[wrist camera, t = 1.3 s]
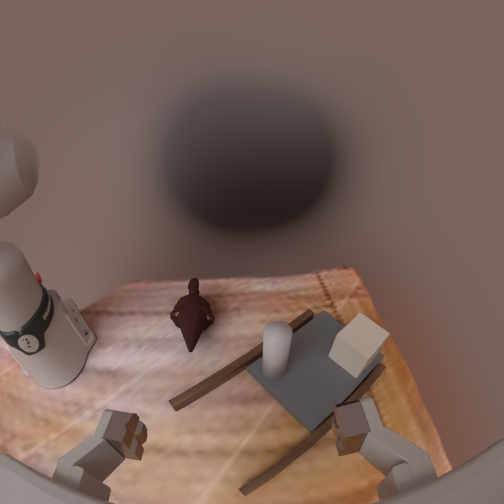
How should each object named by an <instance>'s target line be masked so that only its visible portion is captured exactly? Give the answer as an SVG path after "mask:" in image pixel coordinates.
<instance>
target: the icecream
mask: <svg viewBox="0 0 504 504" xmlns="http://www.w3.org/2000/svg"><path fill="white" fill-rule="evenodd" d="M198 288H199V281H198V279H197V278H193V279H191V280H190V282H189V284H188V289H189V294H188V295H186V296H184V297H181V298H180V299H179V300H178V302H177V304H176V305H175V307H174V310H173V311H172V312H171V313H170V315H171V317H170V318H171V319H172V320H173V322H174V323H175V325H176V326H177V327H178V328H180V329H181V331H182V334H183V337H184V339H185V342H186V345H187V348H188V350H189V352H192V351H193V350H194V348H195V346H196V344H197V341H198V339H199V337H200V335H201V333H202V331H203V330H205V329H207V328H208V327H209V326H210V325H211V324H212V323H213V322H214V321H213V320H214V319H215V318H214V316H213V315H212V312H211V309H210V304H209V303H208V302H207V301H206V300H205V299H204V298H202V297H201V296H200V295H198V294H199V290H198Z"/></svg>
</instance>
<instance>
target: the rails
mask: <svg viewBox="0 0 504 504" xmlns="http://www.w3.org/2000/svg"><path fill="white" fill-rule="evenodd" d="M313 315H314V312H313V311H311V310H310V309H308V310H307V311H306V312H304V313H303V314H302V315H300V316H299V317H298V318H296V319H295V320H293V321H292V322H291V323H289V324H288V325H289V326H290V327H291V328H292V332H293V333H292V334H294V333H295V332H296V331H298V330H299V329H300V328H301V327H303V326H304V325H305V324H307V323H308V322H309V321H310V320H312V319H313ZM262 356H263V342H262V343H261V344H259V345H258V346H257V347H255V348H254V349H252V350H251V351H249V352H248V353H246V354H245V355H243V356H242V357H240V358H238V359H237V360H235V361H234V362H232V363H231V364H229V365H228V366H226V367H224V368H223V369H221V370H220V371H218V372H217V373H215V374H213V375H212V376H210V377H208V378H207V379H205V380H203V381H202V382H200V383H198V384H197V385H195V386H193V387H192V388H190V389H188V390H187V391H185V392H183V393H181V394H180V395H178V396H176V397H174V398H173V399H171V400H169V403H170V404H171V406H172V407H173V408H174V410H175V411H178V410H180V409H182V408H183V407H185V406H187V405H189V404H190V403H192V402H194V401H195V400H197V399H199V398H200V397H202V396H204V395H205V394H207V393H209V392H210V391H212V390H213V389H215V388H217V387H218V386H220V385H221V384H223V383H225V382H226V381H228V380H229V379H231V378H232V377H234V376H235V375H237V374H238V373H240V372H241V371H243V370H244V369H246V368H247V366H249V365H250V364H252V363H253V362H255V361H256V360H258V359H259V358H261V357H262ZM385 368H386V367H385V366H384V365H382V364H381V363H380V364H379V365H378V366H377V368H376V369H375V370H374V371H373V372H372V374H371V375H370V376H369V377H368V378H367V379H366V380H365V382H364V383H363V384H362V385H361V386H360V387H359V388H358V389H357V390H356V392H355V393H354V394H353V395H352V396H351V397H350V398H349V399H348V400H347V401H346V402H350V401H354V400H359V399H360V398H361V396H362V395H363V394H364V393H365V392H366V391H367V390H368V389H369V387H370V386H371V385H372V384H373V383H374V381H375V380H376V379H377V378H378V377H379V375H380V374H381V373H382V372H383V370H384V369H385ZM331 428H332V416H331V417H330V418H329V419H328V420H327V421H326V422H325V423H324V424H323V425H322V426H320V427H319V428H318V429H317V430H316V431H315V432H314V433H313V434H312V435H310V436H309V437H308V438H307V439H306V440H305V441H303V442H302V443H301V444H300V445H299V446H298V447H296V448H295V449H294V450H293V451H291V452H290V453H289V454H288V455H286V456H285V457H284V458H283V459H281V460H280V461H279V462H277V463H276V464H275V465H273V466H272V467H271V468H269V469H268V470H267V471H265V472H264V473H262V474H261V475H259V476H258V477H257V478H255V479H254V480H252V481H251V482H249V483H248V484H246V485H245V486H243V487H242V488H240V489H239V490H240V491H241V492H242V493H243V494H244V495H245V496H246V495H247V494H249V493H251V492H252V491H254V490H255V489H257V488H258V487H260V486H261V485H262V484H264V483H265V482H267V481H268V480H269V479H271V478H272V477H274V476H275V475H276V474H278V473H279V472H280V471H282V470H283V469H284V468H286V467H287V466H288V465H289V464H291V463H292V462H293V461H294V460H296V459H297V458H298V457H299V456H300V455H302V454H303V453H304V452H305V451H306V450H308V449H309V448H310V447H311V446H312V445H313V444H314V443H315V442H317V441H318V440H319V439H320V438H321V437H322V436H323V435H324V434H325V433H326V432H327V431H328V430H330V429H331Z"/></svg>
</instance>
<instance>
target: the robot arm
mask: <svg viewBox="0 0 504 504" xmlns="http://www.w3.org/2000/svg"><path fill="white" fill-rule="evenodd" d="M39 169H40V166H39V156H38V152H37V149H36V146H35V144H34V142H33V141H32V139H31V138H30V137H29V136H28V134H26V133H25V132H24V131H22V130H21V129H19V128H15V127H12V126H8V125H5V124H3V123H1V122H0V219H2V218H3V217H5V216H7V215H9V214H10V213H11V212H12V211H14V210H15V209H16V208H17V207H18V206H20V205H21V204H22V203H24V202H25V201H26V200H27V199H28V198H30V197H31V196H32V195H33V193H34V191H35V188H36V185H37V182H38V177H39ZM41 283H42V280H41V277H40V275H39V273H36V274H35V275H34V274H33V272H32V270H31V268H30V266H29V264H28V262H27V260H26V258H25V256H24V254H23V252H22V251H21V250H20V249H19V248H18V247H17V246H15V245H14V244H12V243H10V242H5V241H0V336H1V337H2V339H3V340H4V341H6V343H7V349H8V350H9V352H10V353H11V354H12V356H13V357H14V358H15V359H16V361H17V362H18V363H19V364H20V366H21V372H22V373H23V374H24V376H26V377H29V378H33V379H34V380H35V381H36V382H37V383H38V384H40V385H41V386H43V387H45V388H51V389H54V388H59V387H62V386H65V385H67V384H68V383H70V382H71V381H72V380H73V379H74V378H75V377H76V376H77V375H78V374H79V372H80V371H81V369H82V368H83V366H84V363H85V360H86V357H87V354H88V351H89V350H90V348H91V347H92V346H93V344H94V342H95V340H96V337H95V335H94V334H93V332H92V331H91V329H90V328H89V326H88V325H87V323H86V321H85V320H84V318H83V317H82V315H81V313H80V312H79V310H78V308H77V307H76V305H75V303H74V302H73V300H72V299H71V298H60V296H59V295H58V293H57V292H56V291H55V290H46V288H45V287H43V285H42V284H41ZM333 411H334V414H333V415H332V430H333V434H334V435H335V436H336V437H337V440H336V447H337V451H338V455H339V456H343V455H347V454H352V453H356V452H359V454H361V455H362V456H363V457H364V458H365V459H366V460H367V461H369V462H370V463H371V464H372V465H373V466H374V467H375V468H377V469H378V470H379V471H380V472H381V473H383V474H384V475H385V476H386V477H385V478H384V479H383V480H382V481H381V482H380V483H379V485H378V486H377V487H376V488H377V492H378V496H379V500H380V501H379V502H375V503H372V504H504V439H500V440H498V441H497V442H496V443H494V444H493V445H491V446H490V447H488V448H487V449H485V450H484V451H482V452H481V453H479V454H478V455H476V456H475V457H473V458H472V459H470V460H468V461H467V462H465V463H463V464H462V465H460V466H458V467H456V468H454V469H453V470H451V471H449V472H447V473H445V474H443V475H441V476H439V477H437V475H436V472H435V470H434V467H433V465H432V462H431V460H430V457H429V455H428V452H426V451H424V450H423V449H421V448H419V447H418V446H416V445H415V444H413V443H411V442H410V441H408V440H407V439H405V438H403V437H402V436H400V435H399V434H397V433H396V432H394V431H393V430H391V429H390V428H388V427H386V428H384V426H383V424H382V421H381V419H380V416H379V413H378V411H377V408H376V406H375V403H374V401H373V399H372V398H371V397H366V398H362V399H359V400H354V401H350V402H345V403H341V404H337V405H334V408H333ZM146 440H147V428H146V426H145V424H144V423H143V422H141V421H139V416H138V415H137V414H136V413H128V412H120V411H115V410H108V409H106V410H105V411H104V412H103V414H102V416H101V419H100V421H99V423H98V426H97V428H96V431H95V433H94V436H90V437H88V438H87V439H86V440H84V441H83V442H82V443H80V444H79V445H78V446H76V447H75V448H74V449H72V450H71V451H69V452H68V453H67V454H65V455H64V456H63V457H61V458H60V459H59V462H58V464H57V467H56V469H55V472H54V475H53V477H52V479H51V478H49V477H47V476H45V475H43V474H41V473H40V472H38V471H36V470H34V469H32V468H31V467H29V466H27V465H25V464H24V463H22V462H20V461H19V460H17V459H16V458H14V457H12V456H11V455H9V454H2V455H0V504H114V503H110V502H108V500H109V496H110V492H111V489H110V487H108V486H107V485H105V484H104V483H102V482H103V481H104V480H105V479H106V478H107V477H108V476H109V475H110V474H111V473H112V472H113V471H114V470H115V469H116V468H117V467H118V466H119V465H120V464H121V463H122V462H123V461H124V460H125V458H128V459H134V460H140V461H141V459H142V455H143V451H144V448H143V446H142V444H143V443H145V442H146Z"/></svg>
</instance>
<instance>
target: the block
mask: <svg viewBox="0 0 504 504" xmlns="http://www.w3.org/2000/svg"><path fill="white" fill-rule="evenodd" d="M389 335H390V333H388V332H387V331H386V330H384V329H383V328H381V327H380V326H379V325H377V324H376V323H374V322H373V321H372V320H370V319H369V318H367V317H366V316H365V315H363V314H362V313H359V314H358V315H357V316H356V317H355V318H354V319H353V320H352V321H351V322H350V323H349V324H347V325H346V326H345V327H344V328H343V329H342V330H341V331H340V332H339V333H338V334H337V335H336V338H335V340H334V343H333V345H332V348H331V350H330V353H329V355H328V356H329V357H330V358H331V359H332V360H334V361H335V362H336V363H337V364H339V365H340V366H341V367H342V368H343V369H345V370H346V371H347V372H348V373H350V374H351V375H352V376H353V377H355V378H357V377H358V376H359V375H360V374H361V373H362V372H363V371H364V370H365V368H366V367H367V366H368V365H369V364H370V363H371V362H372V360H373V359H374V358H375V357H376V356H377V354H378V353H379V351H380V350H381V348H382V346H383V345H384V343H385V341H386V340H387V338H388V336H389Z"/></svg>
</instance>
